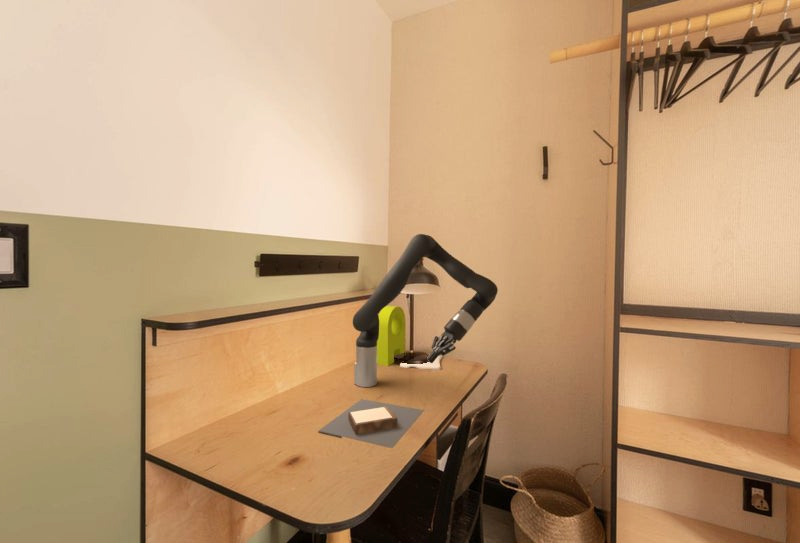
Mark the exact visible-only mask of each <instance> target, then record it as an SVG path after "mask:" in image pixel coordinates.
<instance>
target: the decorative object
mask: <svg viewBox="0 0 800 543" xmlns="http://www.w3.org/2000/svg"><path fill="white" fill-rule="evenodd" d="M378 316H379V337H378V340H377V366H378V365H380V366H386V367H389V366H391V365H392V364H394V363H395V359H394V356H395V355H397V354H401V353H404V352H405V353H406V322H407V321H406V314H405V311H404V309H403V308H402V307H401V306H395V305H387V306H385V307H384V308H383V309H382V310H381V311H380V312H379V313H378Z"/></svg>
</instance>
